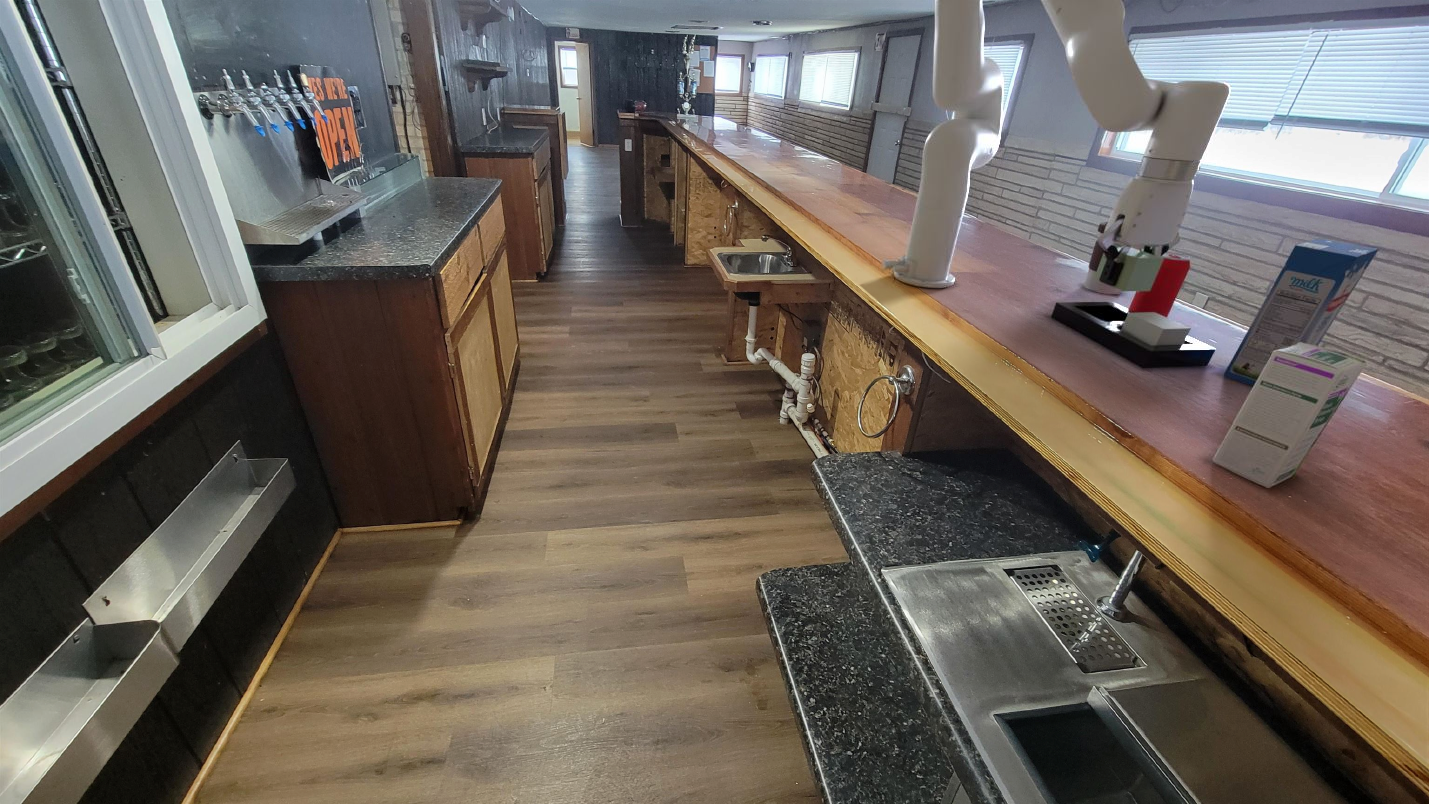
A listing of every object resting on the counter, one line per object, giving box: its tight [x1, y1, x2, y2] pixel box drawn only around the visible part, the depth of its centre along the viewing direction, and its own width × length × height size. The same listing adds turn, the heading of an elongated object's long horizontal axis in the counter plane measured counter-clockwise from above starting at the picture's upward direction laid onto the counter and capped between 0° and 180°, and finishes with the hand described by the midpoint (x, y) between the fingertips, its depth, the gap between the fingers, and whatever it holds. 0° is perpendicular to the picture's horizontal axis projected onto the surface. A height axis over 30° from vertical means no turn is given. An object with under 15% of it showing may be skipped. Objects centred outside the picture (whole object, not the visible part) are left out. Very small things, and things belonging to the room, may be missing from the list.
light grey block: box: [1121, 312, 1192, 346], centre depth 92 cm, size 5×7×6 cm
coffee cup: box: [1083, 221, 1142, 295], centre depth 119 cm, size 10×10×15 cm
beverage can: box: [1128, 251, 1191, 318], centre depth 105 cm, size 6×6×12 cm
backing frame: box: [1050, 301, 1217, 369], centre depth 97 cm, size 12×22×3 cm, turn 9°
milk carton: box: [1222, 238, 1380, 387], centre depth 82 cm, size 10×6×20 cm, turn 122°
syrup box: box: [1212, 342, 1367, 489], centre depth 61 cm, size 6×6×14 cm
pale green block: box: [1094, 247, 1164, 292], centre depth 96 cm, size 5×7×6 cm
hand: (1121, 282), depth 97 cm, fingers closed on pale green block, 5 cm apart
